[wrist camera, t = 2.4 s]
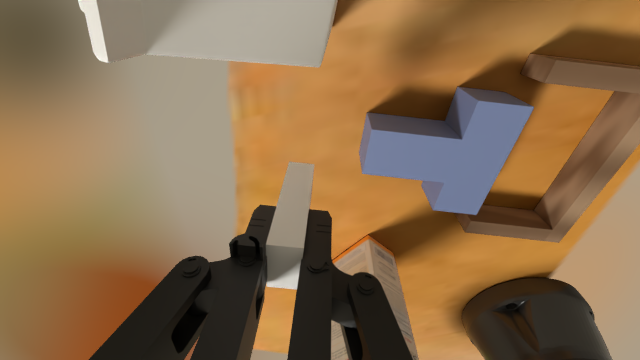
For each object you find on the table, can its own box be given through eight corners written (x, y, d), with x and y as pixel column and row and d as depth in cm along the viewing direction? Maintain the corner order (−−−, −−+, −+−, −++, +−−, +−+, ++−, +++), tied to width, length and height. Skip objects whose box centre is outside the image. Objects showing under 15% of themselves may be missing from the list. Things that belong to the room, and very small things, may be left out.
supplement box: (348, 282, 37) (353, 399, 26) (322, 265, 35) (315, 382, 24) (396, 252, 33) (424, 373, 22) (369, 232, 32) (385, 352, 21)
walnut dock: (540, 222, 30) (558, 242, 27) (454, 212, 30) (465, 232, 27) (651, 67, 21) (694, 75, 18) (530, 53, 21) (556, 60, 18)
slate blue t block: (354, 178, 28) (356, 201, 25) (373, 77, 22) (380, 89, 19) (459, 189, 28) (476, 214, 25) (504, 91, 22) (534, 107, 19)
